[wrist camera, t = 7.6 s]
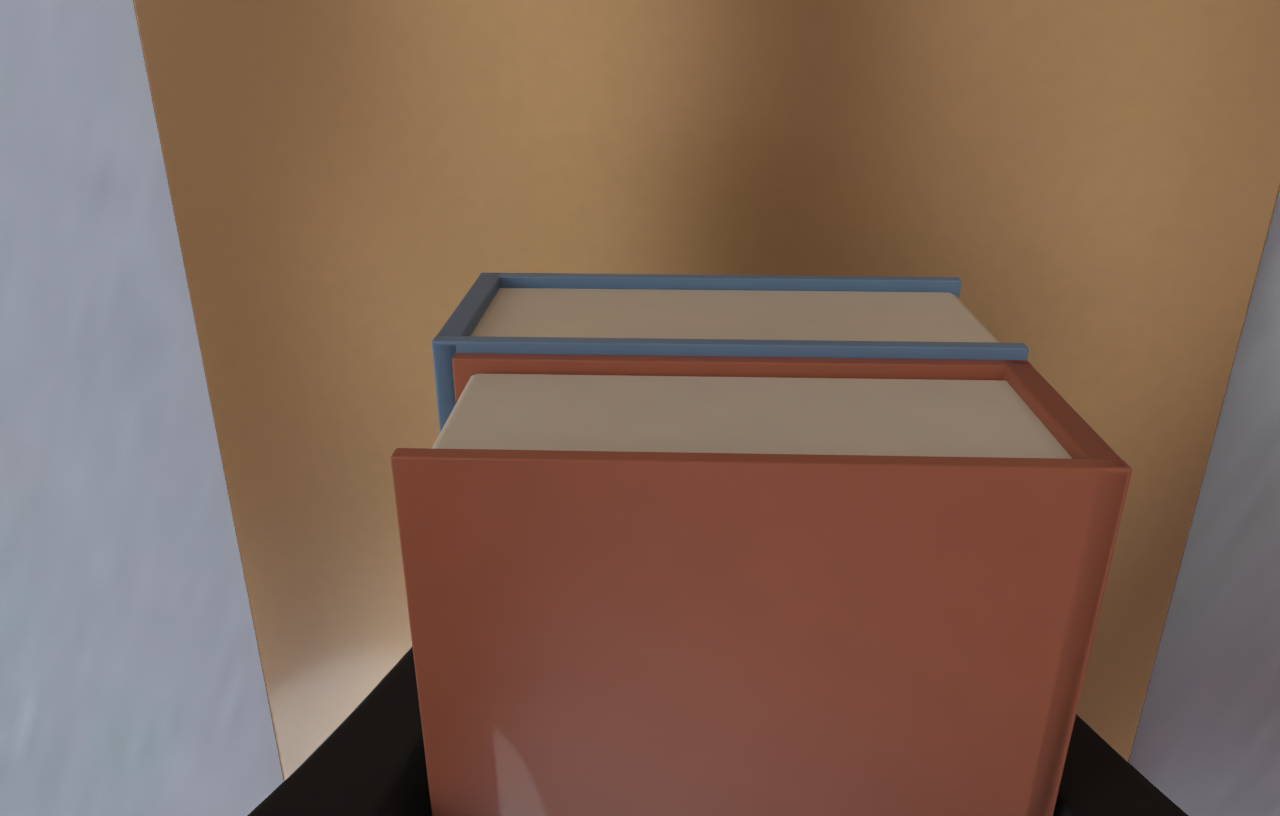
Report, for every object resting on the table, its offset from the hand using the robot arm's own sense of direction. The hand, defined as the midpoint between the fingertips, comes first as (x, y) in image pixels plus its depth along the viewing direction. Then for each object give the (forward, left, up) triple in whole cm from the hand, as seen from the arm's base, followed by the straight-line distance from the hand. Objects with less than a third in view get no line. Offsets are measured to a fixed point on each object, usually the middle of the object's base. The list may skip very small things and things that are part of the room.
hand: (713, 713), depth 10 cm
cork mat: (0, 0, -6) cm, 6 cm away
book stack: (0, 0, -1) cm, 1 cm away
